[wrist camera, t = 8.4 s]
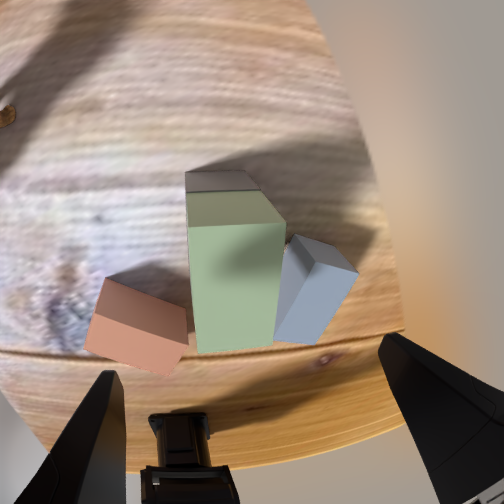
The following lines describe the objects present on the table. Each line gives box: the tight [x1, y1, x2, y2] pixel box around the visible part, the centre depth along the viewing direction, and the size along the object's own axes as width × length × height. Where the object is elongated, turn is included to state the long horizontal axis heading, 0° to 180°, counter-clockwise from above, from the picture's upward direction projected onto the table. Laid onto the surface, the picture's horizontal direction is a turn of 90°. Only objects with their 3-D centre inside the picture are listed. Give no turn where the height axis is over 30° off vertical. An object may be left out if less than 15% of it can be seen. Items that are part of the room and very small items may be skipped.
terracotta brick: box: [83, 278, 189, 376], centre depth 20 cm, size 6×4×4 cm, turn 58°
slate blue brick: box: [273, 234, 359, 345], centre depth 21 cm, size 6×4×4 cm, turn 158°
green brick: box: [186, 191, 287, 354], centre depth 14 cm, size 6×4×4 cm, turn 177°
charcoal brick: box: [185, 171, 260, 296], centre depth 17 cm, size 6×4×4 cm, turn 177°
